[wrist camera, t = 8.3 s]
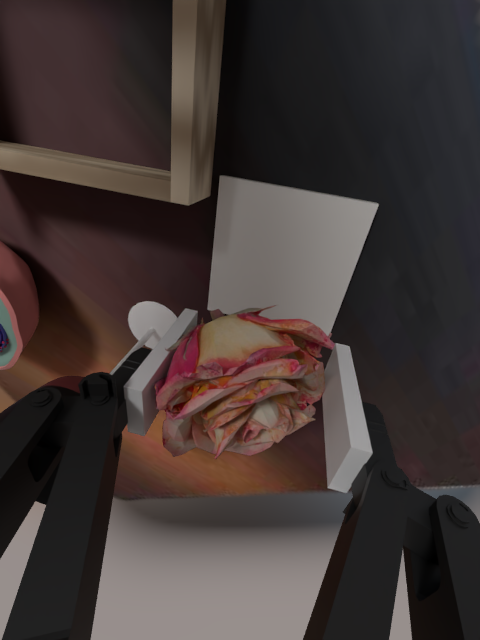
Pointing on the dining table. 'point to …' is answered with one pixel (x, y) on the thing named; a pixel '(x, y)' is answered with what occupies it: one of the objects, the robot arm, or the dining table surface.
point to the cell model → (16, 306)
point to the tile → (285, 250)
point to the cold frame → (186, 124)
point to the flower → (241, 383)
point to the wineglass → (149, 329)
